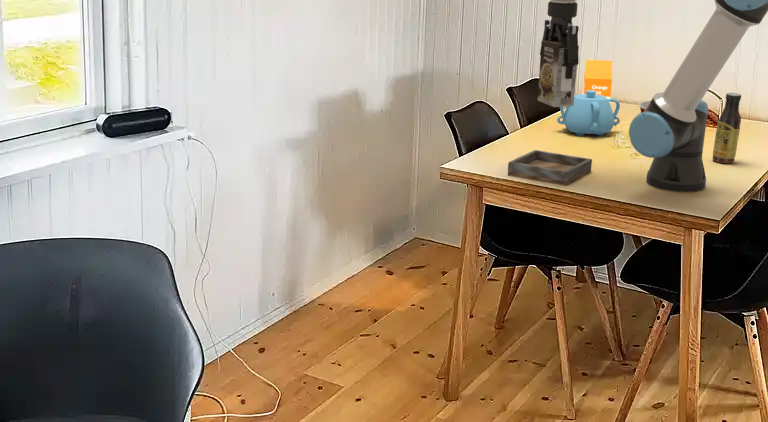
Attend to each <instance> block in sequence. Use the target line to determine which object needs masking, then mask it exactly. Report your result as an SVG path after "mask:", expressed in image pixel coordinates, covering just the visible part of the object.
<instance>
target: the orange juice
mask: <svg viewBox="0 0 768 422" xmlns="http://www.w3.org/2000/svg"><path fill="white" fill-rule="evenodd" d="M583 76H584V77H583V84H582V85H583V86H582V87H583V88H582V94H586V91H587V90H594V91H596V94H595V95H603V96H605V97H606V98H607V99H609V98H612V97H611V95H612V85H613V84H612V83H613V60H604V59H603V60H602V59H600V60H599V59H598V60H597V59H586V60H585V68H584V73H583ZM609 103H610V104H611V102H609Z"/></svg>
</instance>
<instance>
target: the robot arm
mask: <svg viewBox="0 0 768 422" xmlns="http://www.w3.org/2000/svg"><path fill="white" fill-rule="evenodd" d="M576 1H577V0H549V2H548V3H547V16H548V17H551V19H545V20H544V30H543V36H542V40H541V41H558V42H559V41H560V42H561V45H563V46H567V49H564V58H563V59H564V64H562V76H561V89H560V91H571V84H572V73H573V66H575V65H577V66H578V65H579V63H580V61H579V58H580V57H579V50H578V46H579V30H580V29H579V26H578V25H573V19H574V18H576V17H577V15H578V5H579V4H578V2H576ZM714 3H715V10H714V12H713V13H712V15H711V17H710V18H709V20H708V21H707V23H706V24H705V25H704V27H703V29H702V31H701V32H700V33H699V35H698V37H697V39H696V40H695V41H694V43H693V44H692V46H691V48H690V50H689V51H688V53H687V55H686V56H685V58H684V59H683V60H682V62H681V64H680V65H679V67H678V69H677V71H675V73H674V75H673V77H671V80H670V81H669V83H668V85H667V86H666V88H665V90H663V91H662V92H658V93H656V94H654V95H653V96H652V99H651V100H650V101H651V102H650V103H649V105H648V106H647V108H646V109H645V111H644V112H642V113H641V112H640V113H638V114H637V115H636V116H635V117H634V118H633V119H632V120H631V123H630V124H629V128H628V136H629V137H628V138H629V139H630V143H631V145H632V147H633V148H634V149H635V151H636V152H637V153H638V154H640V155H642V156H644V157H645V158H650V159H651V158H652V159H653V160H652V162H651V164H650V167H649V169H648V171H647V172H646V179H645V182H646V184H648V185H650V186H651V187H653V188H657V189H659V190H660V189H661V190H664V191H672V192H681V193H682V192H683V193H684V192H685V193H686V192H687V193H689V192H698V191H702V190H703V189H706V185H707V177H706V170H705V167H704V162H703V151H704V143H705V137H706V128H707V121H708V120H707V119H708V116H709V113H708V107H709V105H708V103H707V102H706V101H705V100H703V98H704V96H705V95H706V94H707V93H708V90H709V89H710V87H711V86H712V85H713V83H714V81H715V80H716V78H717V77H718V76H719V73H721V71H722V69H723V67H725V64H727V61H728V60H729V59H730V57H731V56H732V54H733V52H734V51H735V50H736V48H737V47H738V45H739V43H740V42H741V40H742V38H743V37H744V36H745V35H746V32H747V31H748V29H749V28H750V27H753V26H757V25H760V24H761V22H762V20H763V19H764V18H765V16H766V15H767V14H768V0H714ZM539 51H540V52H539V56H540V57H541V49H540V50H539ZM574 59H575V60H574Z"/></svg>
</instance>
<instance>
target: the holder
mask: <svg viewBox="0 0 768 422" xmlns="http://www.w3.org/2000/svg"><path fill="white" fill-rule="evenodd" d="M592 164H593V159H592V158H587V157H582V156H581V157H580V156H575V155H569V154H562V153H555V152H549V151H545V150H544V151H543V150H537V149H533V150H532V151H530V152H528V153H525V154H522V155H521V156H519V157H517V158H515V159H512V160H511V161H509V162H508V164H507V176H511V175H512V177H517V178H522V179H528V180H535V181H539V182H540V181H541V182H545V183H550V184H551V183H552V184H556V185H562V186H569V184H572V183H574V182H575V181H577V180H579V179H580V178H583V177H584V176H586V175H588V174H589V173H591V172H592Z"/></svg>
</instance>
